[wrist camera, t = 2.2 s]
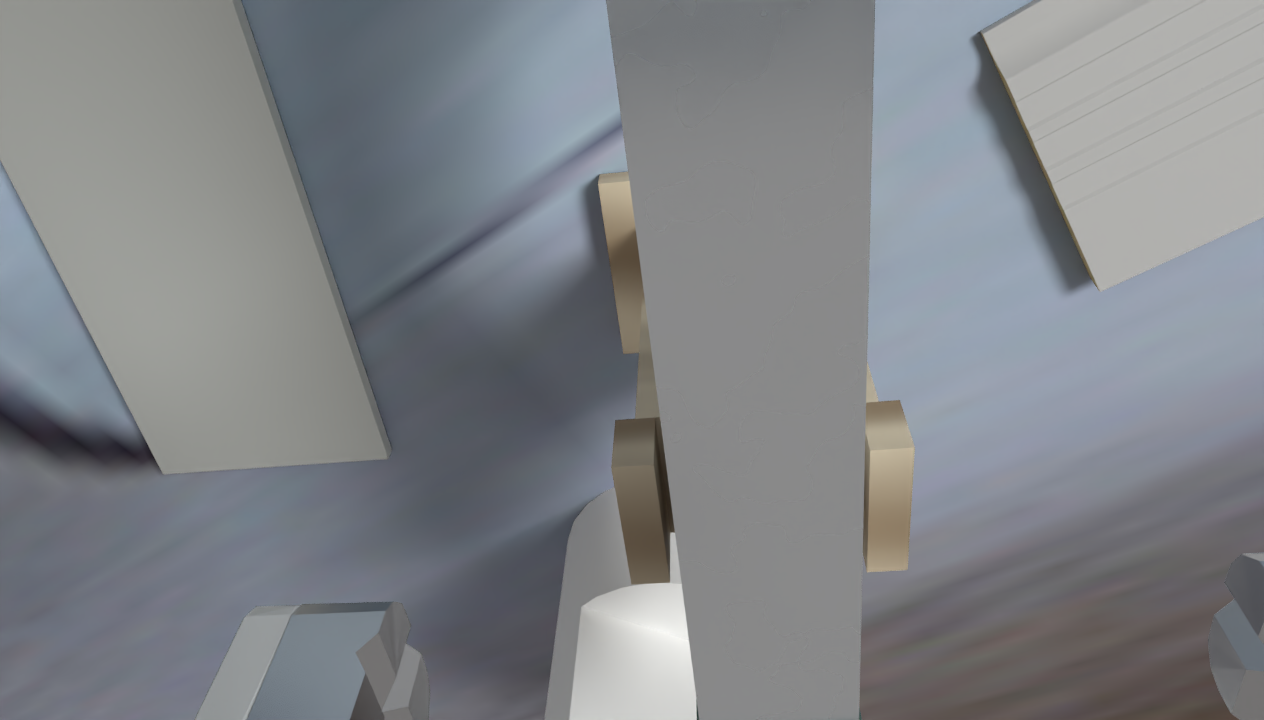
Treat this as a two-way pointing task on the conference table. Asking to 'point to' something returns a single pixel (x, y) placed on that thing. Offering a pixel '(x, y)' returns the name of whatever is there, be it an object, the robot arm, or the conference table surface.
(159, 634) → the conference table surface
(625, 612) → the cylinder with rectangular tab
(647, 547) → the post
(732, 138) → the rail
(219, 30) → the pale gray flat board
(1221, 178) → the baseboard molding
